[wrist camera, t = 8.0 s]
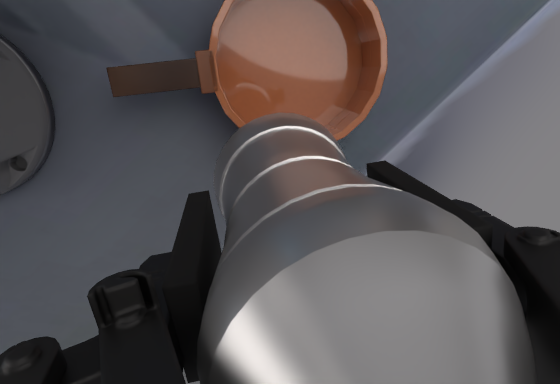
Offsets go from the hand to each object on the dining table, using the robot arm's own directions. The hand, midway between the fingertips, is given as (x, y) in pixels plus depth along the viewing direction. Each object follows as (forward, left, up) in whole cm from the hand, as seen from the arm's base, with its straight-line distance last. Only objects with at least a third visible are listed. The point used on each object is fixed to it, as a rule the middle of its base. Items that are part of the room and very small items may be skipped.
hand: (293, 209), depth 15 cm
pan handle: (-7, +5, -20) cm, 22 cm away
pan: (+4, +5, -23) cm, 24 cm away
